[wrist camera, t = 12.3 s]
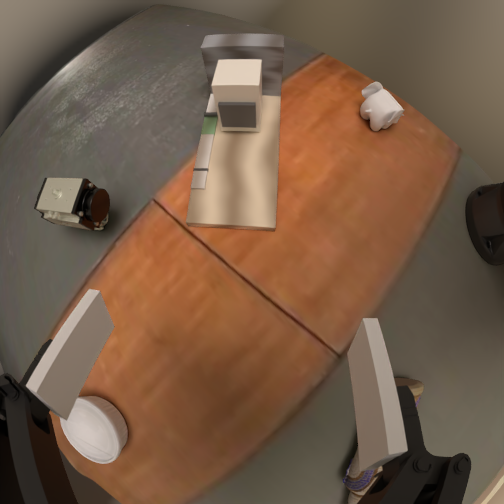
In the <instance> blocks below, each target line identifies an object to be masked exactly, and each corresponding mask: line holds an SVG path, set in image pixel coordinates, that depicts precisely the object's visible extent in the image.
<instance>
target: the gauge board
mask: <svg viewBox="0 0 504 504" xmlns="http://www.w3.org/2000/svg"><path fill="white" fill-rule="evenodd" d="M201 51H202V55H203V60H204V64H205V69H206V74H207V78H208V83H209V87H210V92H211V95H210V99H209V103H208V107H207V112H217V110H216V105H215V100H214V96H213V91H212V86H211V85H212V81H213V78H214V74H215V70H216V67H217V63H218V60H226V59H260V60H262V113H261V125H260V132H252V131H221V128H220V124H219V119H218V116H209V117H205V119H204V123H203V127H202V132H201V138H200V143H199V147H198V152H197V157H196V162H195V167H194V170H193V171H194V173H193V178H192V183H191V194H190V200H189V206H188V212H187V219H186V223H187V225H188V226H197V227H216V228H234V229H250V230H266V231H275V227H276V208H277V187H278V163H279V135H280V100H281V84H282V69H283V54H284V35H274V34H221V35H206V37H205V39H204V41H203V44H202V46H201Z"/></svg>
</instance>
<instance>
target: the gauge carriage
mask: <svg viewBox="0 0 504 504" xmlns="http://www.w3.org/2000/svg"><path fill="white" fill-rule="evenodd" d="M211 86H212V91H213V96H214V100H215V105H216V110H217V112H205V113H204V116H205V117H209V116H218V119H219V124H220V128H221V131H252V132H260V125H261V113H262V60H260V59H226V60H218V63H217V67H216V70H215V74H214V78H213V81H212V85H211Z"/></svg>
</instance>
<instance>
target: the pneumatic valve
mask: <svg viewBox="0 0 504 504" xmlns="http://www.w3.org/2000/svg"><path fill="white" fill-rule="evenodd" d="M109 206H110V199H109V195H108V193H107V191H106V190H105V189H99V188H97V187H96V186H95V185H94V184H93V183H91V182H90V181H89V180H88V179H83V178H45V179H44V182H43V185H42V187H41V190H40V192H39V194H38V197H37V201H36V204H35V207H34V209H36V210H37V211H39V212H40V213H42V216H41V218H43V219H45V220H47V221H49V222H51V223H53V224H58V225H64V226H70V227H76V228H82V229H87V230H93V231H94V230H99V231H102V230H103V229H104V225H106V224H107V222H108V218H109V216H108V214H109V213H108V211H109Z"/></svg>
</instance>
